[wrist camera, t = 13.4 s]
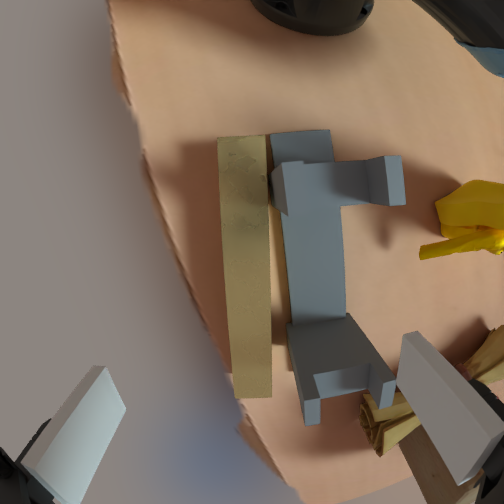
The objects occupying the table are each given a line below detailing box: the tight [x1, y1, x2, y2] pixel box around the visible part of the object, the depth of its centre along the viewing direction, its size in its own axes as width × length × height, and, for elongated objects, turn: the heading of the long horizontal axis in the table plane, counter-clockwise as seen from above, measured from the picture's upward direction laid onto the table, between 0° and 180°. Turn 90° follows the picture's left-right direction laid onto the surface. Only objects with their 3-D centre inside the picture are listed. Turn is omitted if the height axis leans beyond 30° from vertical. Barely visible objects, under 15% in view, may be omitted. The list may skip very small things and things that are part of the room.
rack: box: [268, 130, 406, 426], centre depth 23 cm, size 27×7×13 cm, turn 8°
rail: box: [217, 135, 272, 398], centre depth 27 cm, size 26×4×5 cm, turn 2°
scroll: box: [359, 325, 504, 457], centre depth 28 cm, size 27×10×10 cm, turn 107°
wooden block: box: [399, 424, 484, 504], centre depth 26 cm, size 10×10×20 cm
